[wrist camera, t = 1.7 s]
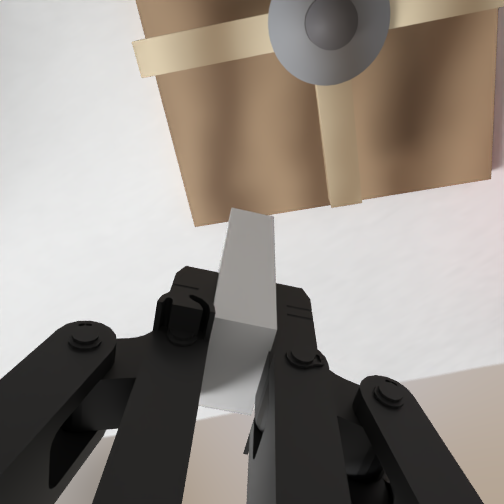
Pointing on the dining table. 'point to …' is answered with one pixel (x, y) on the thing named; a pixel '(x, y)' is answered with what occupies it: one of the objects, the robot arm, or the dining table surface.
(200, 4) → the stand
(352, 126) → the capstan
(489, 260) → the dining table surface
